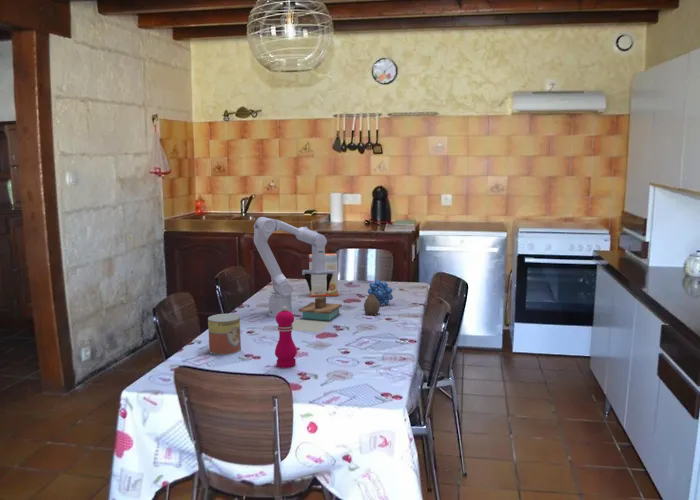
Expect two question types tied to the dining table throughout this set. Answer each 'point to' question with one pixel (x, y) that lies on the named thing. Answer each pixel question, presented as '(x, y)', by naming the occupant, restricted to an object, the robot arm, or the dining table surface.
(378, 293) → the grapes
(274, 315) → the robot arm
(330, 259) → the cracker box
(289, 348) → the pepper mill
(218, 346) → the canned food
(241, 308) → the dining table surface
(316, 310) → the lid
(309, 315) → the dish
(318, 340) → the dining table surface
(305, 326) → the mat
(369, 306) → the brown egg-shaped piece
